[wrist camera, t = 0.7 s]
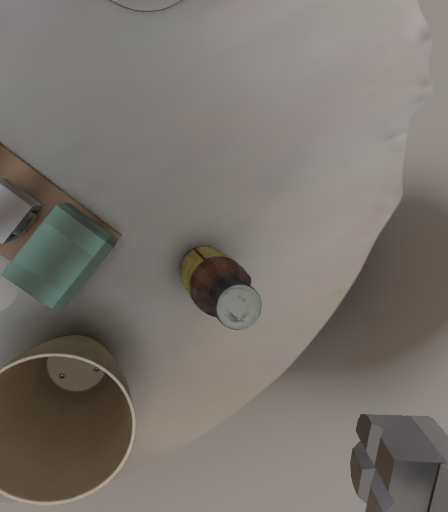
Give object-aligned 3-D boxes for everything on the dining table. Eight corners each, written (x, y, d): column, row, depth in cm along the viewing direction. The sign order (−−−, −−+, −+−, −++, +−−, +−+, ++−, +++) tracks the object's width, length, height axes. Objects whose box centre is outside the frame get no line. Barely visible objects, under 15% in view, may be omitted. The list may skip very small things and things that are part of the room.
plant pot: (92, 437, 56) (72, 532, 41) (-9, 377, 53) (-73, 455, 38) (162, 348, 56) (167, 409, 41) (65, 282, 53) (30, 322, 37)
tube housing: (-104, 176, 48) (-156, 174, 40) (-48, 106, 48) (-89, 89, 39) (70, 297, 53) (56, 318, 45) (121, 234, 53) (116, 243, 45)
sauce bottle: (191, 299, 56) (213, 359, 37) (171, 256, 55) (183, 295, 35) (236, 278, 56) (282, 326, 37) (217, 235, 55) (255, 261, 36)
